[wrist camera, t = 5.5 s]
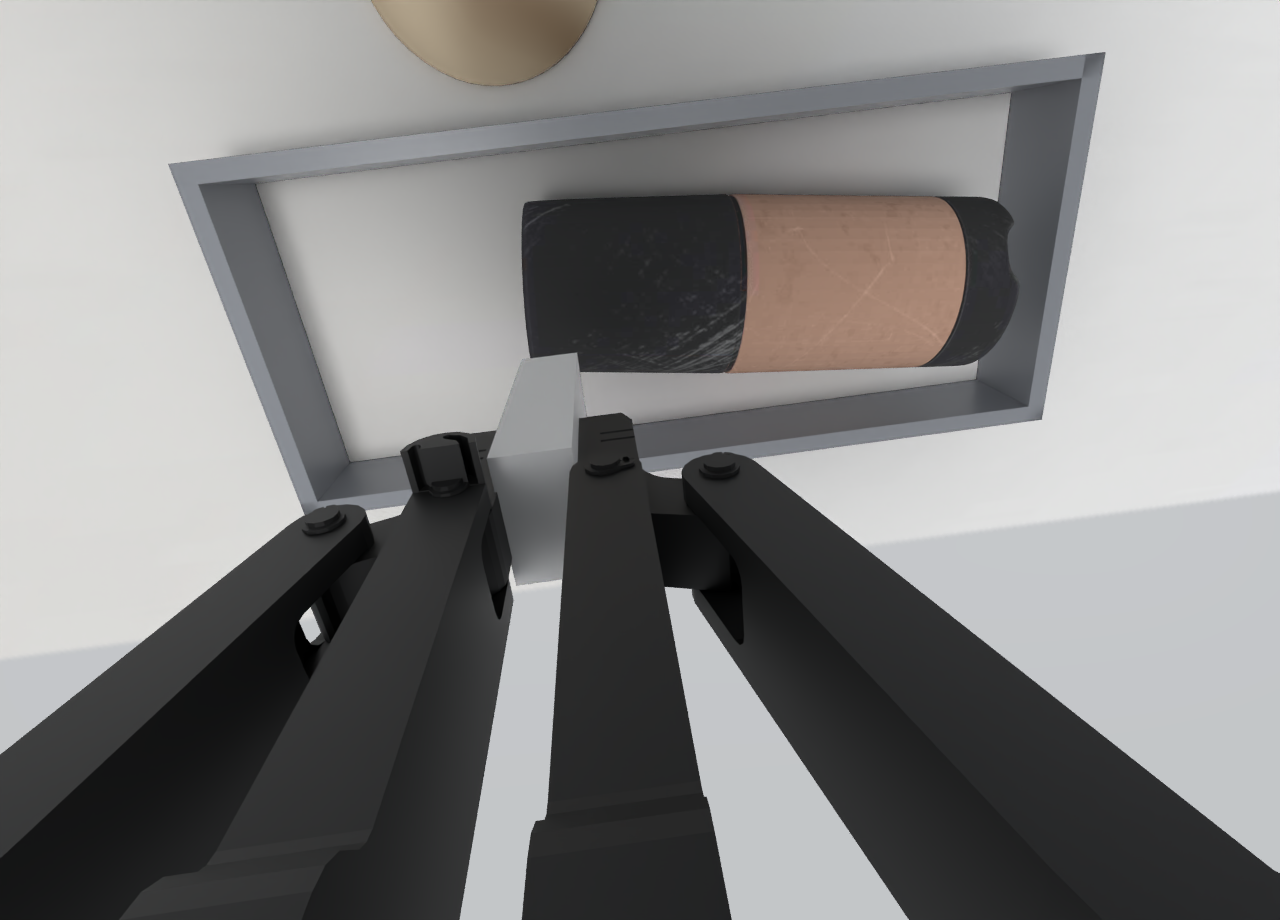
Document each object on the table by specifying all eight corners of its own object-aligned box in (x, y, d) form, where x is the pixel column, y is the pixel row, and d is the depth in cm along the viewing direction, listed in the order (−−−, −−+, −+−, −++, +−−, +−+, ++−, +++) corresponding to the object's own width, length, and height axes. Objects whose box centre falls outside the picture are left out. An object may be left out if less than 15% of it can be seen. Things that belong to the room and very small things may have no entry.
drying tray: (339, 477, 34) (306, 518, 30) (230, 166, 28) (168, 164, 24) (988, 391, 35) (1041, 419, 31) (1031, 70, 29) (1105, 52, 24)
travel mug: (541, 326, 32) (908, 320, 34) (534, 411, 27) (977, 400, 28) (527, 170, 27) (958, 172, 29) (515, 233, 22) (1054, 231, 23)
